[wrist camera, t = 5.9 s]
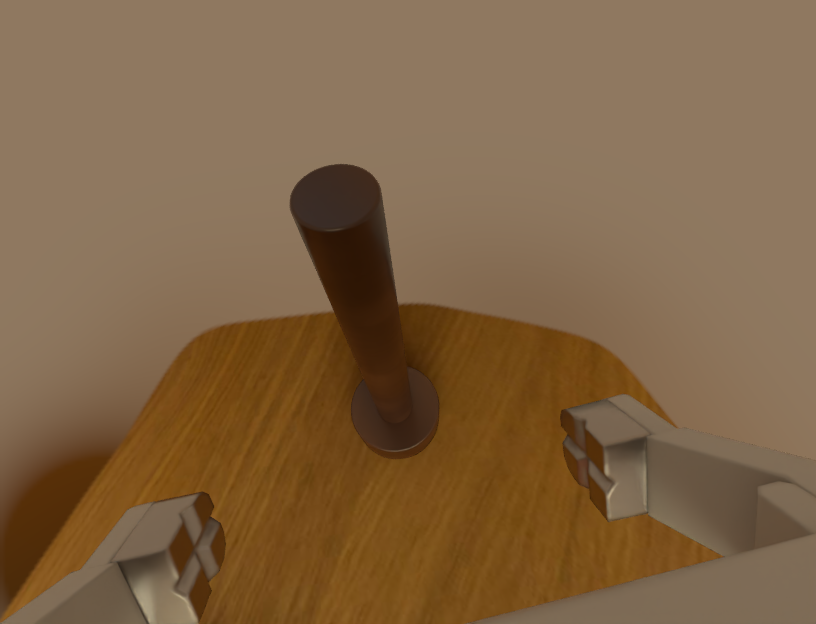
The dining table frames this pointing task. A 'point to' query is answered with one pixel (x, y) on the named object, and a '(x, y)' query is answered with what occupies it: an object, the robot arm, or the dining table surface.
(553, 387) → the dining table surface
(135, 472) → the dining table surface
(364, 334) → the upright rod on disc
